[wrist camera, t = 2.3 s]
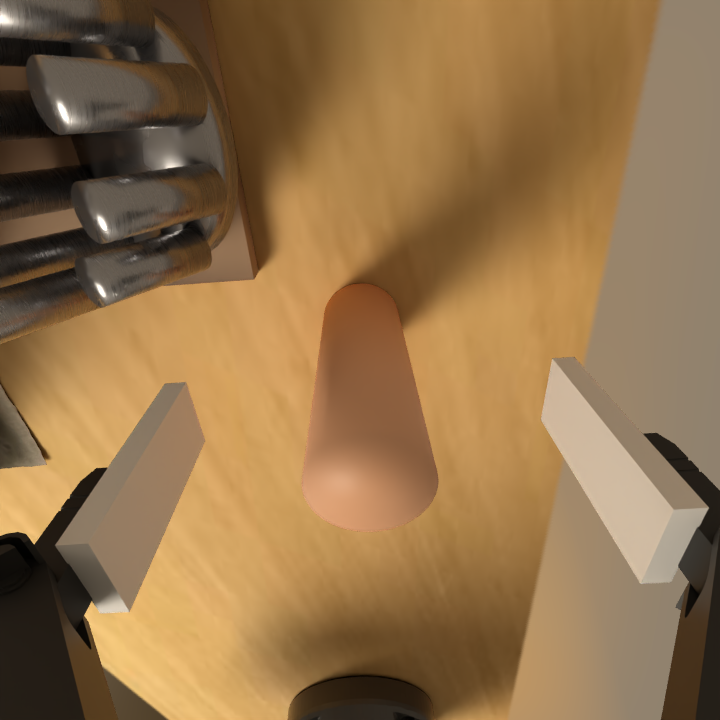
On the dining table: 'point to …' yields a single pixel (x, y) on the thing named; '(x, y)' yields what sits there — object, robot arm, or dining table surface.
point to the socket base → (230, 257)
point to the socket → (109, 157)
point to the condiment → (16, 438)
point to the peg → (366, 419)
